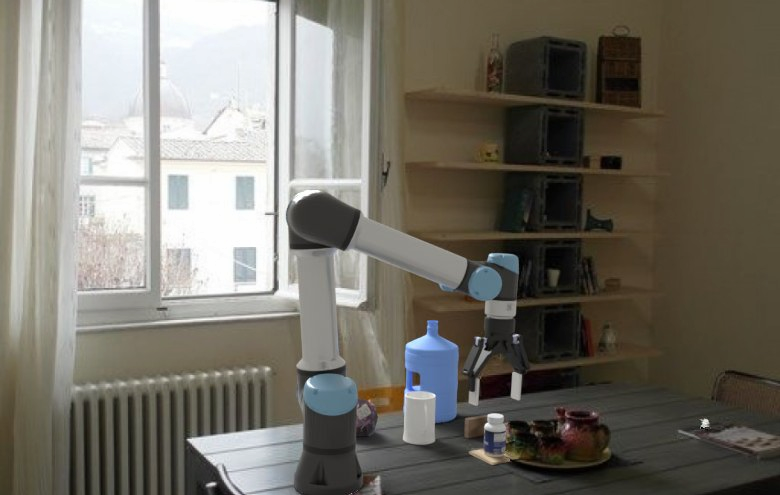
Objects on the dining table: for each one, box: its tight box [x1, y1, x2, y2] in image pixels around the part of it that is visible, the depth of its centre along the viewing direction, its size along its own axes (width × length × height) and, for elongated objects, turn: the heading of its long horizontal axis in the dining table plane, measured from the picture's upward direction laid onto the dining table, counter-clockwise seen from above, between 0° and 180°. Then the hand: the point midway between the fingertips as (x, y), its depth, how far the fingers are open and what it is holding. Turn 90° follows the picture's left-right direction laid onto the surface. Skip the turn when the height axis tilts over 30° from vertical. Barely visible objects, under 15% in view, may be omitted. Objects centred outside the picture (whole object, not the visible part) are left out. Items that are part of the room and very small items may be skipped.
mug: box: [402, 391, 436, 446], centre depth 199 cm, size 12×8×12 cm
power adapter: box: [699, 418, 710, 428], centre depth 218 cm, size 3×3×3 cm
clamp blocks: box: [463, 414, 509, 439], centre depth 203 cm, size 9×10×5 cm
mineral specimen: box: [356, 398, 379, 437], centre depth 204 cm, size 10×10×10 cm
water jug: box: [402, 319, 460, 424], centre depth 222 cm, size 16×16×28 cm
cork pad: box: [468, 448, 511, 466], centre depth 190 cm, size 9×9×1 cm
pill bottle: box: [483, 412, 507, 457], centre depth 189 cm, size 5×5×10 cm
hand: (494, 401), depth 189 cm, fingers open, 13 cm apart
